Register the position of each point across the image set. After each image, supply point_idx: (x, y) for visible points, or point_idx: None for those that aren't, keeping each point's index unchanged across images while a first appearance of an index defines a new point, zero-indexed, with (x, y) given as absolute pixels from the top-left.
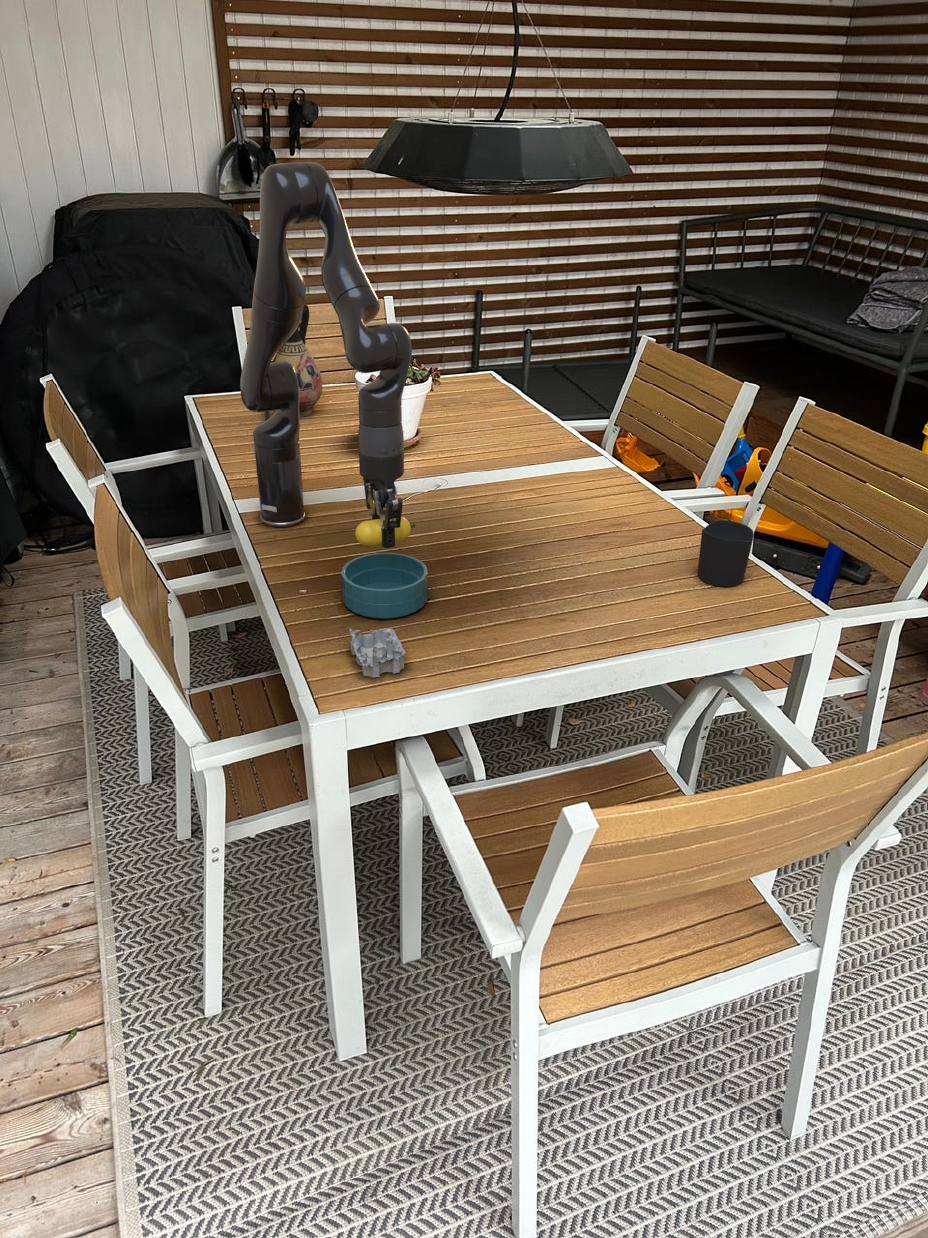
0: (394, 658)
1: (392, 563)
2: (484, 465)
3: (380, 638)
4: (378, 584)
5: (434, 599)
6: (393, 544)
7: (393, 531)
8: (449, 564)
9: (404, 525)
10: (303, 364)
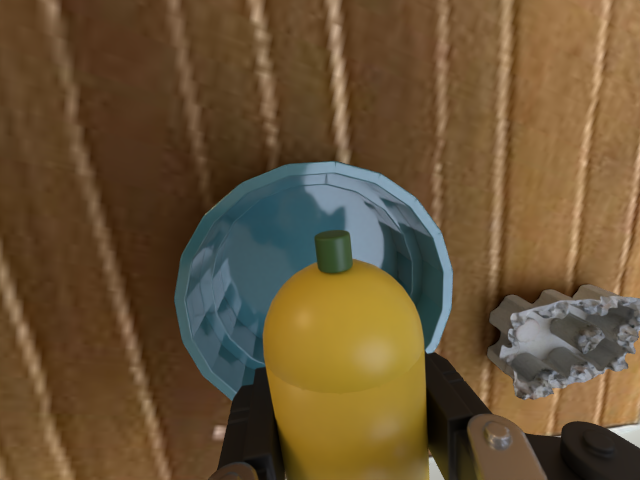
0: (634, 319)
1: (203, 248)
2: None
3: (498, 316)
4: (235, 275)
5: (337, 145)
6: (439, 357)
7: (488, 412)
8: (113, 23)
9: (416, 332)
10: None
